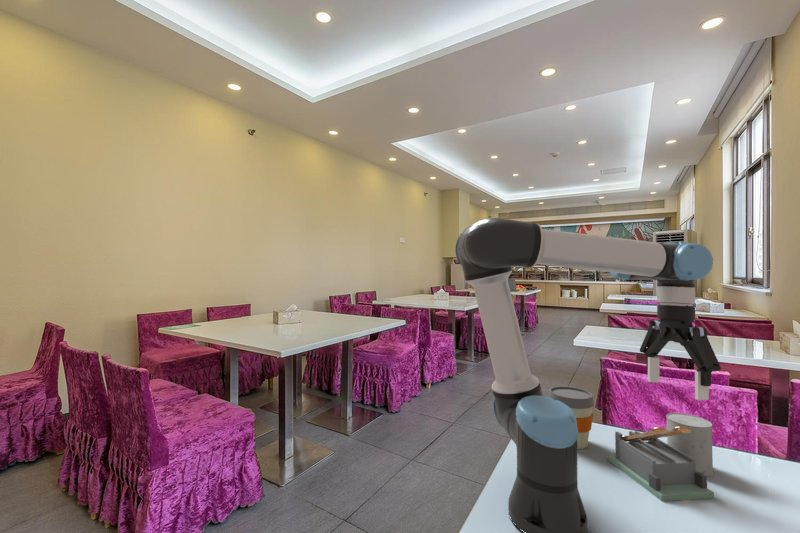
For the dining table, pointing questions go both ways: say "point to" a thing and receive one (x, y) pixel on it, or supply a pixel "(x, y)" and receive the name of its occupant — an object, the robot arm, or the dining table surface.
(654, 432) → the strap
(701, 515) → the dining table surface
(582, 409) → the reusable coffee cup
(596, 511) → the dining table surface
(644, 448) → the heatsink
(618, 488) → the dining table surface
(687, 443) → the gray concrete cylinder
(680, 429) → the strap
